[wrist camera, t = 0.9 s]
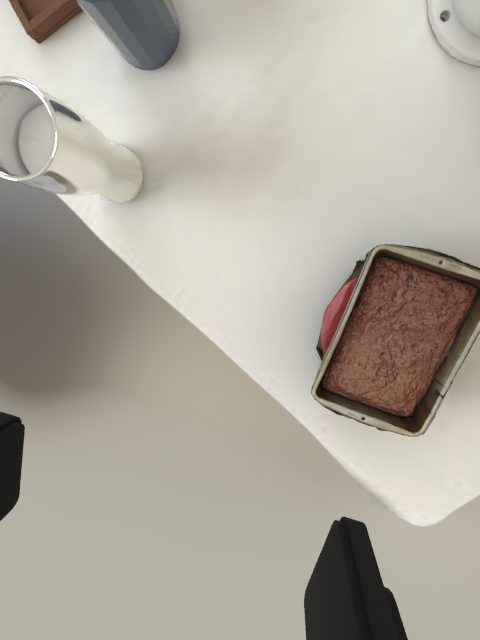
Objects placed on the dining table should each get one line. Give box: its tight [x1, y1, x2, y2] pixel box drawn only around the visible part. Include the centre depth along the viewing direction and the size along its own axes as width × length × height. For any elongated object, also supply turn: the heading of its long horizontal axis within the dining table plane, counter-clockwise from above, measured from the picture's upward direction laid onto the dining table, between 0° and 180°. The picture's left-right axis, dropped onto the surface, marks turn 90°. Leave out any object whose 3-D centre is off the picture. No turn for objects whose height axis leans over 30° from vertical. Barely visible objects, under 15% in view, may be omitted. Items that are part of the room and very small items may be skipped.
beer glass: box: [0, 76, 143, 203], centre depth 29 cm, size 7×7×15 cm
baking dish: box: [311, 244, 480, 437], centre depth 33 cm, size 14×18×10 cm
